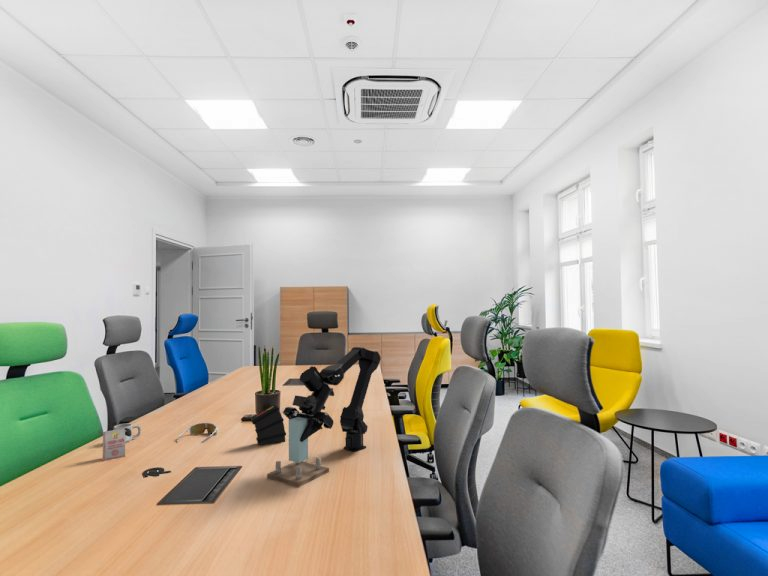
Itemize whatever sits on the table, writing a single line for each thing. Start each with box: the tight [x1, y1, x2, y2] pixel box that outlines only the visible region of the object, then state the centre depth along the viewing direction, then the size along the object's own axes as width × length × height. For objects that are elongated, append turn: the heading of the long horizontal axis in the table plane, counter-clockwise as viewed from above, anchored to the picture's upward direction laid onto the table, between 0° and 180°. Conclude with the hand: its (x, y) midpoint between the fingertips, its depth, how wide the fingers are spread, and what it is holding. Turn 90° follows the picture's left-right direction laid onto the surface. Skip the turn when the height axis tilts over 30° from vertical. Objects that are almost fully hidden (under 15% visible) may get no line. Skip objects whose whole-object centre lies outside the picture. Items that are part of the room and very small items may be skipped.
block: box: [288, 417, 309, 463], centre depth 139 cm, size 4×4×13 cm
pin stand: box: [266, 457, 330, 488], centre depth 139 cm, size 14×14×5 cm
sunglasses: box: [177, 421, 218, 444], centre depth 181 cm, size 14×15×5 cm
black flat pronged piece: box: [142, 466, 172, 478], centre depth 142 cm, size 9×8×1 cm
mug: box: [113, 423, 142, 444], centre depth 179 cm, size 10×7×7 cm, turn 131°
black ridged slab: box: [250, 403, 287, 446], centre depth 173 cm, size 4×13×15 cm, turn 114°
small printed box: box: [102, 428, 126, 461], centre depth 159 cm, size 4×7×10 cm, turn 128°
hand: (295, 440), depth 138 cm, fingers closed on block, 4 cm apart
